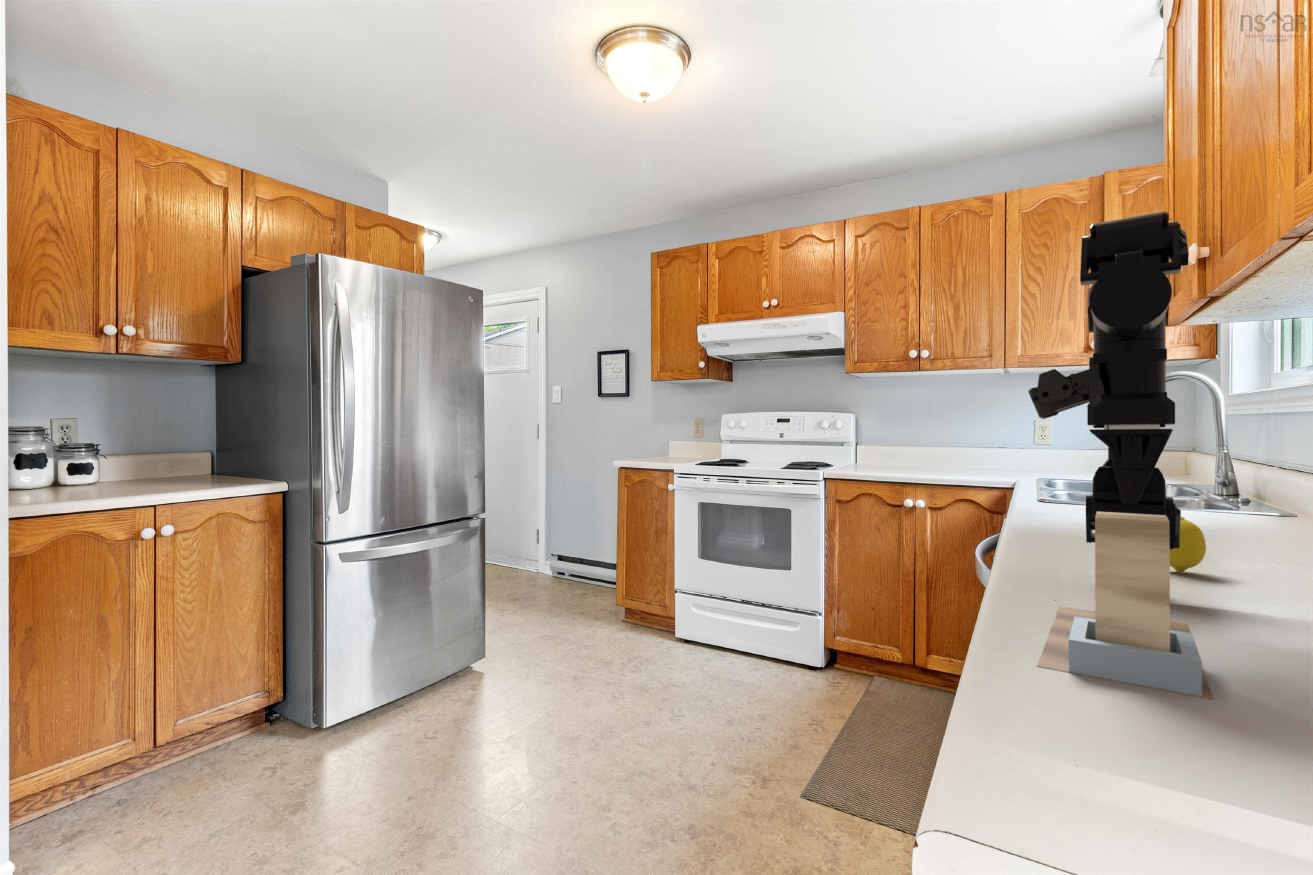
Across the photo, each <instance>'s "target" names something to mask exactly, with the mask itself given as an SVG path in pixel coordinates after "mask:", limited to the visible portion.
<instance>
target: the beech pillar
mask: <svg viewBox="0 0 1313 875" xmlns="http://www.w3.org/2000/svg"><path fill="white" fill-rule="evenodd" d="M1094 533H1095V542H1094V560H1095V561H1094V562H1095V563H1094V566H1095V568H1094V569H1095V571H1094V580H1095V581H1094V583H1095V584H1094V586H1095V587H1094V593H1095V595H1094V596H1095V597H1094V600H1095V602H1094V603H1095V606H1094V607H1095V610H1094V611H1095V640H1097V641H1103V642H1109V643H1115V644H1122V645H1128V646H1134V647H1141V648H1147V649H1153V650H1159V651H1166V652H1170V621H1171V612H1170V610H1171V605H1170V604H1171V601H1170V600H1171V598H1170V596H1171V595H1170V593H1171V590H1170V589H1171V587H1170V586H1171V584H1170V583H1171V581H1170V578H1171V577H1170V573H1171V571H1170V569H1171V568H1170V567H1171V566H1170V523H1169V520H1168V518H1167V516H1166V515H1150V514H1132V513H1115V512H1097V513H1096V516H1095V530H1094Z"/></svg>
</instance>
